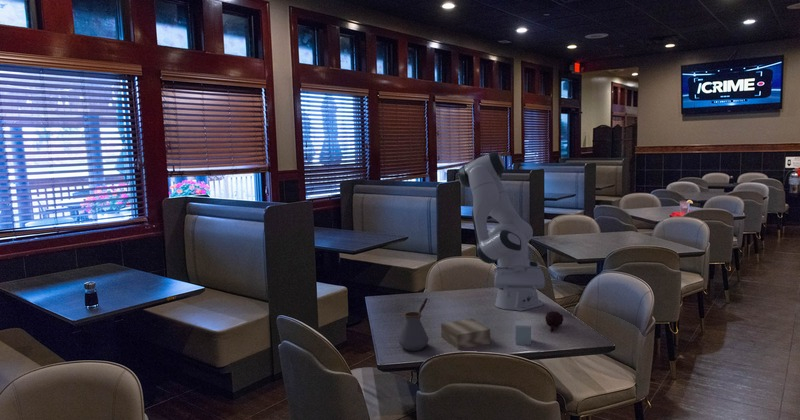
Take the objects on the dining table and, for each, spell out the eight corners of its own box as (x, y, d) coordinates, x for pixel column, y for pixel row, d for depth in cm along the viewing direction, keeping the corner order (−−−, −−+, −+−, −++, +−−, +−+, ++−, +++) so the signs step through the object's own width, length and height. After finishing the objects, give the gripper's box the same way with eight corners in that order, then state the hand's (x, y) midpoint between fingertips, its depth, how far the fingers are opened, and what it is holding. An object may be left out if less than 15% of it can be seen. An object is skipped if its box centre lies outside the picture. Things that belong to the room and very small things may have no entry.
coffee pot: (422, 354, 199) (421, 315, 197) (393, 350, 203) (392, 311, 202) (441, 335, 218) (440, 298, 216) (415, 331, 223) (414, 296, 221)
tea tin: (515, 339, 212) (514, 320, 211) (529, 339, 211) (529, 320, 210) (515, 344, 206) (515, 325, 205) (531, 344, 205) (531, 325, 204)
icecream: (546, 305, 231) (539, 319, 218) (563, 303, 228) (557, 317, 215) (551, 321, 232) (543, 335, 219) (568, 319, 228) (561, 333, 215)
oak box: (472, 332, 221) (472, 318, 220) (490, 344, 208) (490, 329, 207) (441, 338, 216) (441, 323, 215) (457, 350, 203) (457, 334, 202)
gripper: (493, 263, 226) (493, 292, 218) (543, 263, 223) (546, 293, 214) (493, 271, 231) (493, 300, 223) (542, 271, 228) (545, 300, 219)
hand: (520, 296), depth 218 cm, fingers open, 8 cm apart
